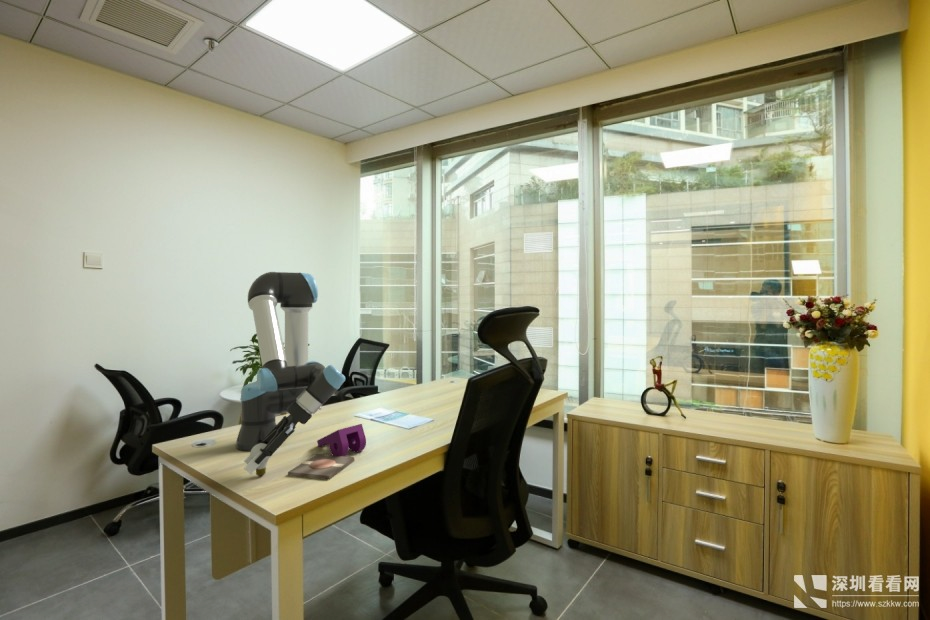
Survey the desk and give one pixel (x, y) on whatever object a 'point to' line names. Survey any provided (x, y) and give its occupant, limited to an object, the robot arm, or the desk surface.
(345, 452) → the mounting bracket
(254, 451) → the light bulb
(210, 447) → the desk surface
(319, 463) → the board
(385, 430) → the desk surface
